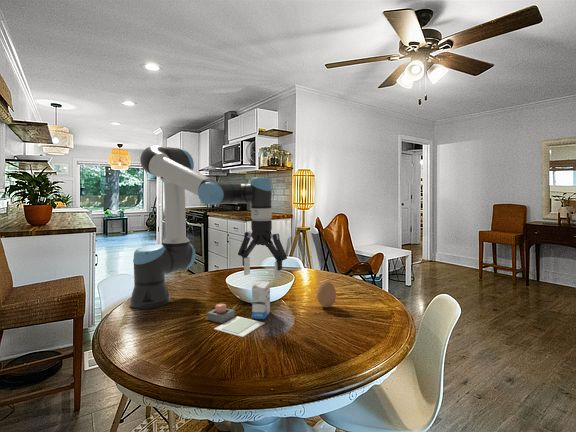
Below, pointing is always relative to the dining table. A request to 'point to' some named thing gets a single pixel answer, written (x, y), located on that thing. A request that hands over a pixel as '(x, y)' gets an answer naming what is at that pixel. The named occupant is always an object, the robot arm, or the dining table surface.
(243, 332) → the sheet
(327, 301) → the egg
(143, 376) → the dining table surface
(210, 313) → the button housing
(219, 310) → the button
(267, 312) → the ink box
